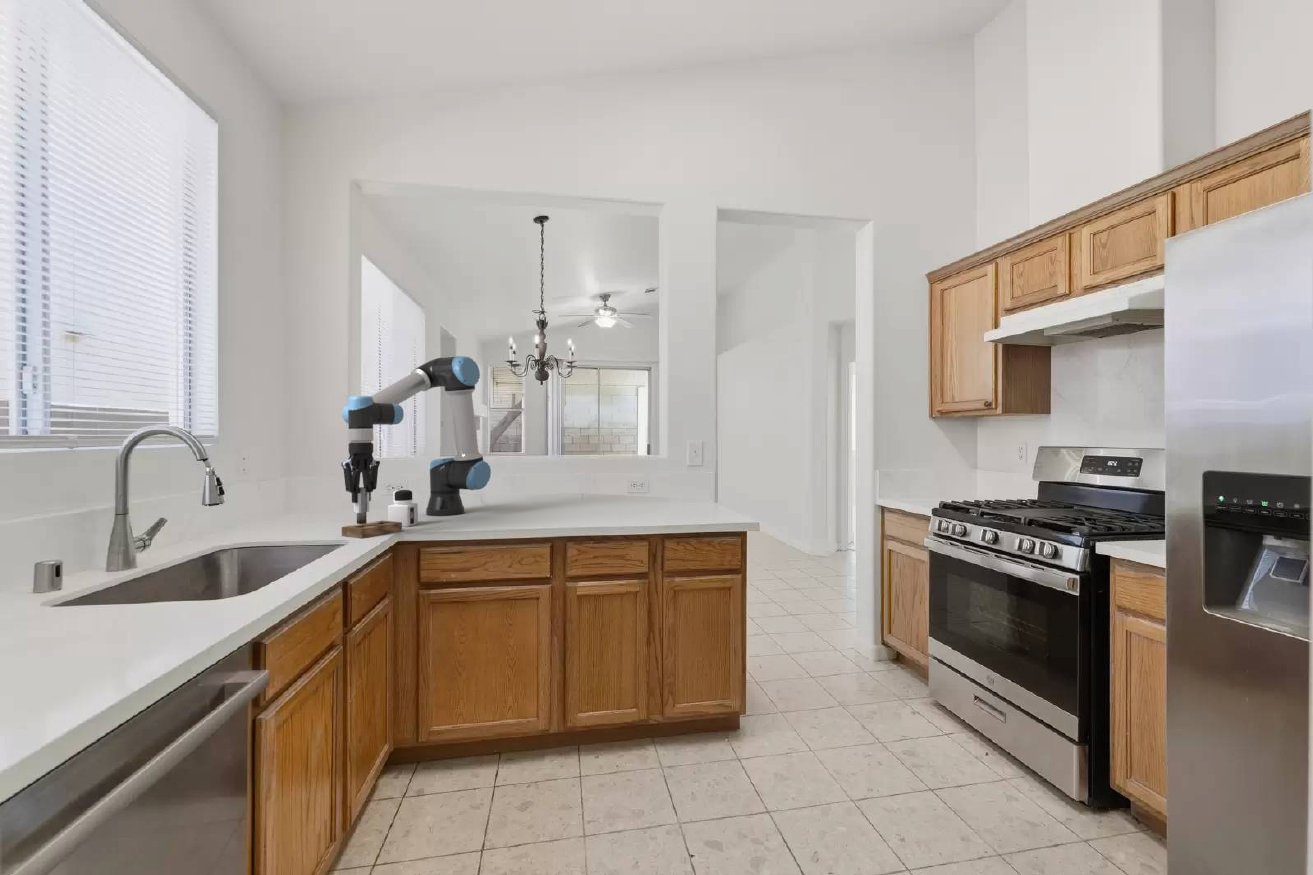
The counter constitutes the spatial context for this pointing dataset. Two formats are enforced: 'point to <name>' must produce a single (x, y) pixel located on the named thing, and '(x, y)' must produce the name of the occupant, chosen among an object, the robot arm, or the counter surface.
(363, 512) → the pin
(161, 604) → the counter surface
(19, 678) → the counter surface
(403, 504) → the container
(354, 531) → the hole block
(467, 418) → the robot arm
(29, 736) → the counter surface
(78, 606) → the counter surface
